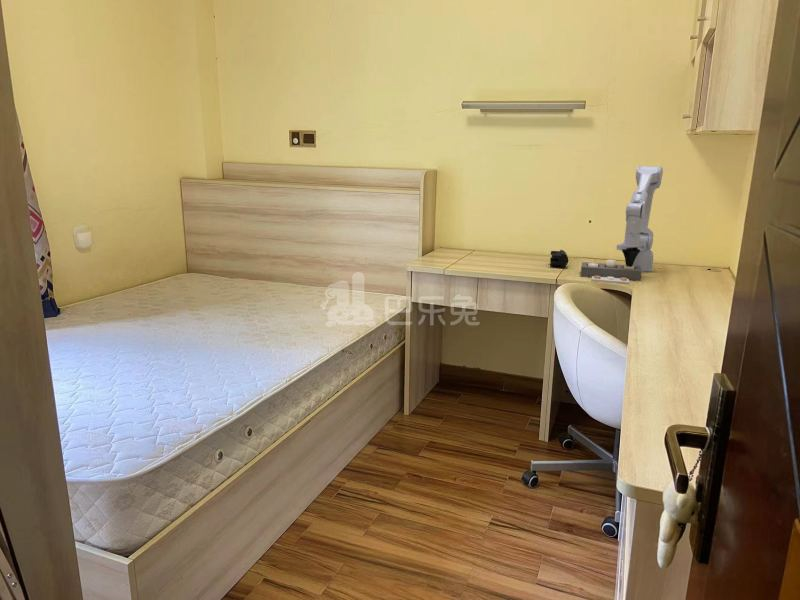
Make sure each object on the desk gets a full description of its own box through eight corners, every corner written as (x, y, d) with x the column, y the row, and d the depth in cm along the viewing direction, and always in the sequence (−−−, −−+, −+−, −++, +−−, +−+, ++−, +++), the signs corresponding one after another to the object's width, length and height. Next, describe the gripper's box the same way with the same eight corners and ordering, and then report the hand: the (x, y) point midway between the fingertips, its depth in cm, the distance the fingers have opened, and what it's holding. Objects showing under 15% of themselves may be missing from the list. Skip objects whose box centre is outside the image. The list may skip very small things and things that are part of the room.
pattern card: (628, 280, 242) (629, 277, 241) (629, 284, 236) (629, 280, 236) (591, 278, 246) (592, 274, 245) (591, 281, 240) (592, 277, 240)
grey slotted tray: (638, 275, 252) (640, 266, 251) (640, 281, 242) (641, 271, 241) (581, 271, 259) (582, 262, 258) (580, 276, 249) (581, 266, 248)
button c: (597, 272, 253) (598, 263, 252) (597, 274, 250) (598, 265, 249) (587, 271, 255) (588, 262, 254) (587, 273, 251) (588, 264, 250)
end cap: (567, 269, 263) (569, 253, 262) (550, 268, 265) (552, 253, 263) (566, 264, 273) (567, 249, 271) (549, 264, 274) (551, 249, 272)
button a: (633, 275, 249) (634, 265, 248) (633, 277, 246) (634, 267, 245) (622, 274, 251) (623, 264, 249) (623, 276, 247) (624, 266, 246)
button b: (615, 269, 251) (616, 259, 250) (615, 271, 247) (616, 261, 246) (605, 268, 252) (606, 259, 251) (605, 270, 248) (606, 261, 247)
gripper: (637, 230, 250) (633, 263, 254) (612, 232, 244) (608, 266, 247) (651, 233, 244) (647, 266, 248) (626, 235, 238) (622, 269, 241)
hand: (629, 266), depth 247 cm, fingers closed, pressing on button a
